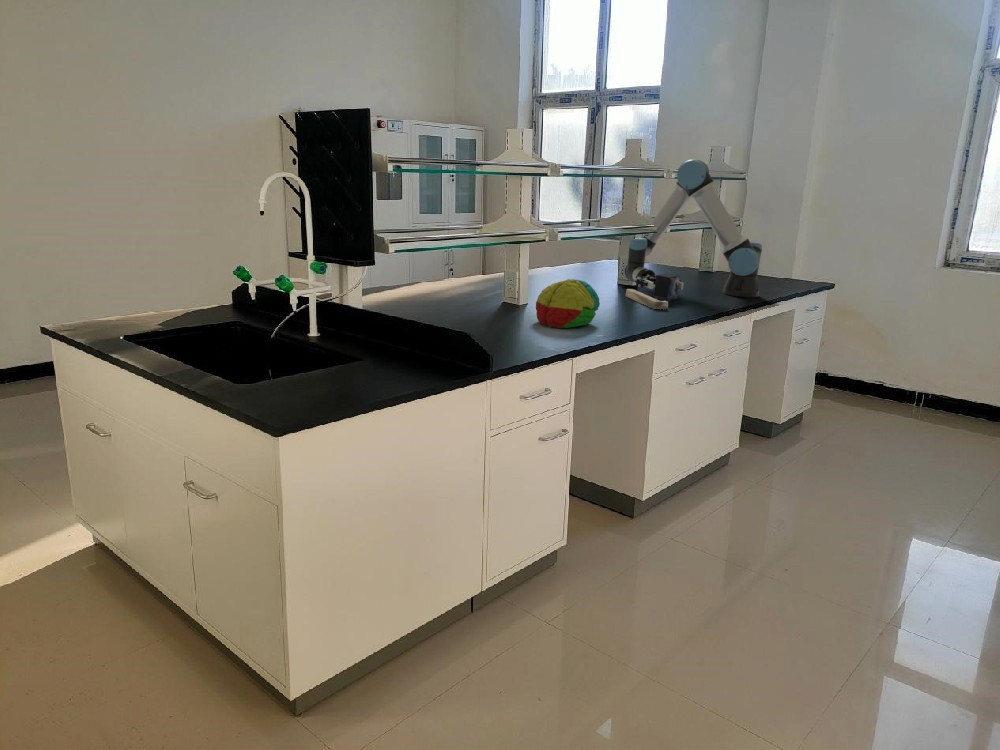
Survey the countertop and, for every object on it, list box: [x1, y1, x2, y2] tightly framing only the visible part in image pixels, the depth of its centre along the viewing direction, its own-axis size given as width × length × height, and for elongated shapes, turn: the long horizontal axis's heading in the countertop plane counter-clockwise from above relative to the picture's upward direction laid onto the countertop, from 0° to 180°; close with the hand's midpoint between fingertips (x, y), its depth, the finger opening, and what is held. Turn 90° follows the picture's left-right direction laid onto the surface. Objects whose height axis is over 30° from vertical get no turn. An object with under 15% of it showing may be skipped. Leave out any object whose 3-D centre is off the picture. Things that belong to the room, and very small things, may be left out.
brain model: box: [535, 278, 601, 329], centre depth 242 cm, size 24×19×15 cm
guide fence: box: [625, 288, 669, 311], centre depth 287 cm, size 6×26×3 cm, turn 15°
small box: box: [652, 272, 681, 303], centre depth 295 cm, size 11×6×10 cm, turn 143°
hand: (667, 286), depth 294 cm, fingers open, 13 cm apart
